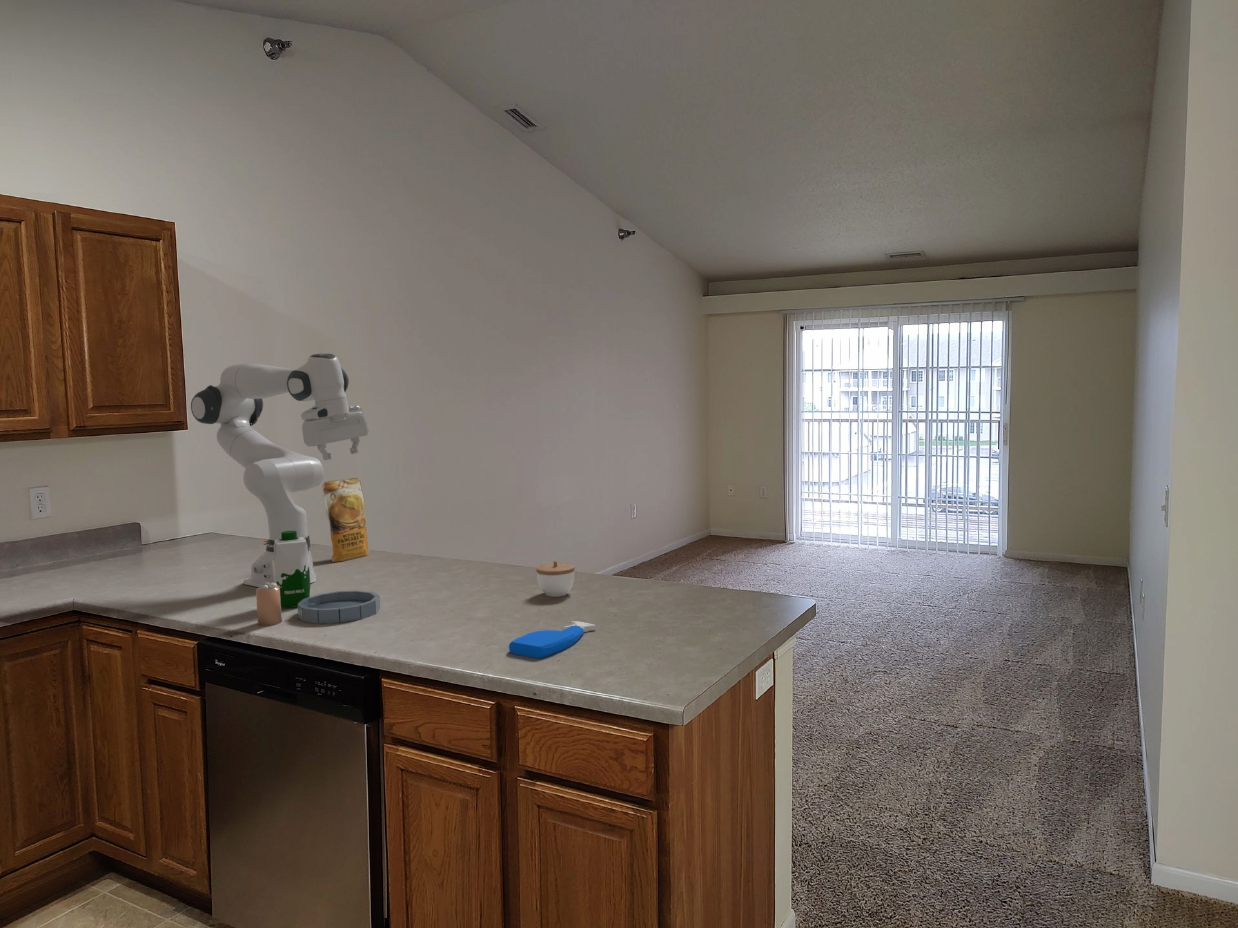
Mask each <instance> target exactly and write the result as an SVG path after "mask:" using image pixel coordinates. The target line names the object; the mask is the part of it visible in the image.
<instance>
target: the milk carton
mask: <svg viewBox="0 0 1238 928" xmlns="http://www.w3.org/2000/svg"><path fill="white" fill-rule="evenodd" d="M281 538H282V539H279V540H274V562H275V578H276V584H277V585H278V586H279V587H280V601H281V610H283V609H290V608H289V607H291V608H298V603H299V602H300V601H302V600H303V599H305V598H308V597H311V596H310V595H311V594H310V593H311V583H310V571H309V556H308V546H307V542H306V540H305V539H304V538H303V537H300V538H298V537H297V532H296V531H285V532H281Z"/></svg>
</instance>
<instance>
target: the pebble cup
mask: <svg viewBox="0 0 1238 928" xmlns="http://www.w3.org/2000/svg"><path fill="white" fill-rule="evenodd" d="M255 594H256V595H255V596H256V598H255V599H256V612H257V613H256V615H257V625H258V626H261V627H270V626H276V625H279V624H281V623H282V621H283V620H282V607H281V601H280V587H279V586H278V585H277V584H276V583H271V584H270V583H269V582H264V583H263V584H262V586H261V587H256V588H255Z"/></svg>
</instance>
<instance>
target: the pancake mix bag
mask: <svg viewBox="0 0 1238 928" xmlns="http://www.w3.org/2000/svg"><path fill="white" fill-rule="evenodd" d="M321 488H322V496H323V500H324V504H325V512H326V517H327V520H328V523H329V528H330V529H329V530H330V540H331V545H332V556H331V561H332V563H336V562H339V563H340V562H345V561H350V560H355V559H359V558H363V557H366V556H368V555H369V553H370V552H369V551H370V550H369V544H368V543H369V539H368V538H369V537H368V526H367V525H368V522H367V511H366V501H365V496H364V493H363V487H362V484H361V480H360V479H359V478H358V477H352V478H347V479H334V480H329V481H324V482H323V483H322V487H321Z"/></svg>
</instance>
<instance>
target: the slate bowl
mask: <svg viewBox="0 0 1238 928" xmlns="http://www.w3.org/2000/svg"><path fill="white" fill-rule="evenodd" d="M380 610H381V597H380V594H378V593H377V592H374V591H368V590H339V591H330V592H326V593H319V594H315V595H312V596H310V597H308V598H305V599H303V600H302V601H300V602H299V603H298V607H297V616H298V618H299V620H301V621H302V622H305V623H311V624H319V625H320V624H321V625H322V624H337V623H338V624H339V623H345V622H352V621H358V620H362V619H365V618H368V617H371V616H374V615H376V614H377V613H378V612H379V611H380Z"/></svg>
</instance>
